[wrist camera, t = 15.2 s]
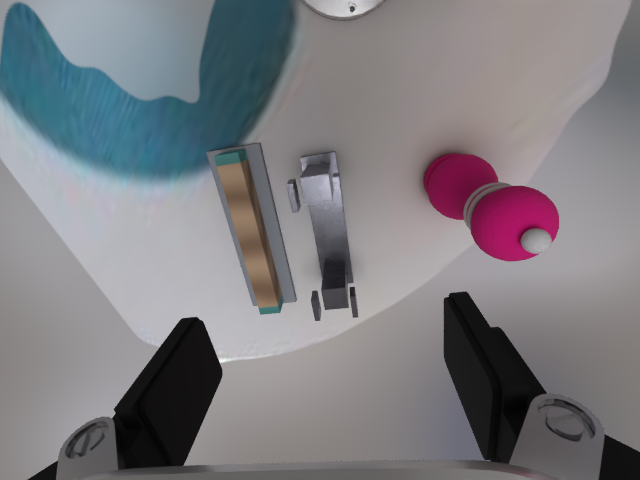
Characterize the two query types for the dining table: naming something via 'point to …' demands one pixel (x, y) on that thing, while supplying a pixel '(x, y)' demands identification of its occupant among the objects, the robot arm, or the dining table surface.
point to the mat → (268, 216)
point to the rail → (250, 228)
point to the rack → (326, 229)
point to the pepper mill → (492, 207)
